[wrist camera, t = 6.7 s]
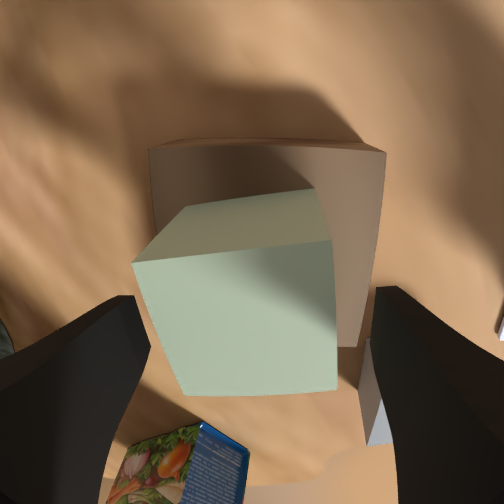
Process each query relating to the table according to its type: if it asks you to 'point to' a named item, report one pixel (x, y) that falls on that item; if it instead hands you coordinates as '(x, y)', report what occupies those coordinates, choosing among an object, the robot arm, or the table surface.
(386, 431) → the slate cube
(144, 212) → the table surface
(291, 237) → the sage cube
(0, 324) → the rose bouquet
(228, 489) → the blue food package
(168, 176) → the walnut block
